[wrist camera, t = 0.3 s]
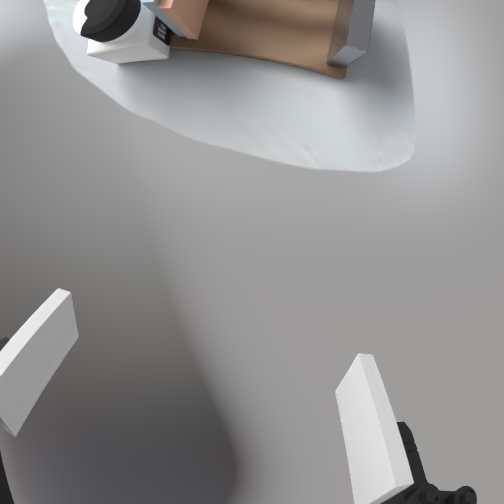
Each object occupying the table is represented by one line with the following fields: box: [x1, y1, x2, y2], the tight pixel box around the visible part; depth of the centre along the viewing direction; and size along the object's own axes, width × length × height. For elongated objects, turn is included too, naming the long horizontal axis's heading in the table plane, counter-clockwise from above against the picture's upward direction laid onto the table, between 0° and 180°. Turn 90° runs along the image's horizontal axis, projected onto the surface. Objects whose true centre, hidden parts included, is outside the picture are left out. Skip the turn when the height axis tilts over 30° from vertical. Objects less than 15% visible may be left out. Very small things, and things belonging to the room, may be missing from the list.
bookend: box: [326, 0, 375, 69], centre depth 22 cm, size 10×2×9 cm, turn 169°
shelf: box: [170, 0, 347, 79], centre depth 26 cm, size 12×21×2 cm, turn 78°
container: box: [73, 0, 172, 64], centre depth 22 cm, size 8×8×13 cm
